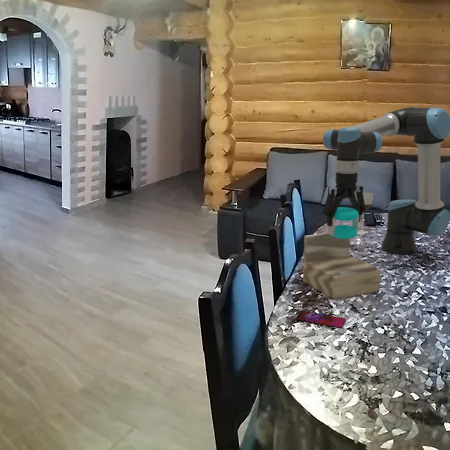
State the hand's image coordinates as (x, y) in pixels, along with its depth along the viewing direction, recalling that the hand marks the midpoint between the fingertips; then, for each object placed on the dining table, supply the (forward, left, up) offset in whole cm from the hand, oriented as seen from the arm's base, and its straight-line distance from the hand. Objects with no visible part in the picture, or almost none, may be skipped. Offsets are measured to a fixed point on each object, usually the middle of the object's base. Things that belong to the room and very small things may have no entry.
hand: (343, 232), depth 191 cm
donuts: (0, 0, -1) cm, 1 cm away
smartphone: (+24, +22, -21) cm, 39 cm away
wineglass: (-57, -58, -21) cm, 84 cm away
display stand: (0, 0, -21) cm, 21 cm away
